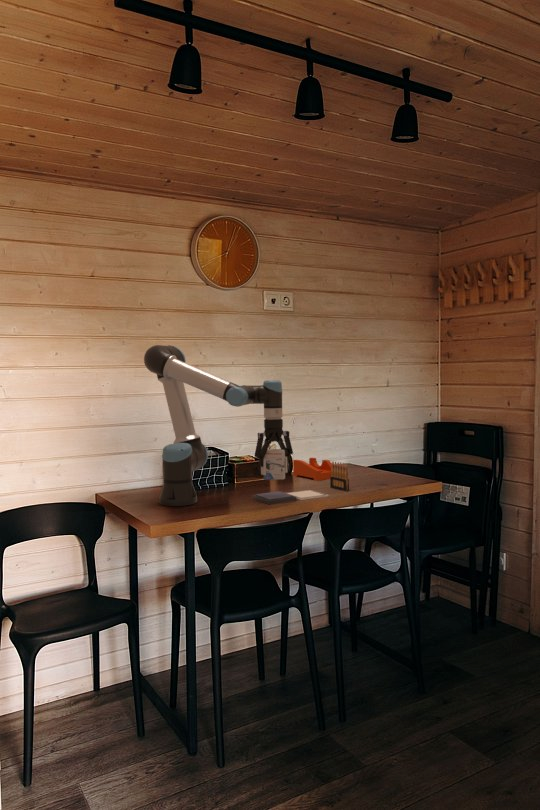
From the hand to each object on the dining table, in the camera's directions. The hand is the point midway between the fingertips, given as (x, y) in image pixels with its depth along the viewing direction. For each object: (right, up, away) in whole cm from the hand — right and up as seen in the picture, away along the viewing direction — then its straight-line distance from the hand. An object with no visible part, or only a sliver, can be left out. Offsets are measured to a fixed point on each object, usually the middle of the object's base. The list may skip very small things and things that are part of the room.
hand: (274, 473), depth 258 cm
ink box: (0, -2, 0) cm, 2 cm away
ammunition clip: (+29, -9, +21) cm, 37 cm away
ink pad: (0, -11, +1) cm, 11 cm away
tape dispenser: (+20, -8, +53) cm, 57 cm away
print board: (+13, -10, +8) cm, 18 cm away
